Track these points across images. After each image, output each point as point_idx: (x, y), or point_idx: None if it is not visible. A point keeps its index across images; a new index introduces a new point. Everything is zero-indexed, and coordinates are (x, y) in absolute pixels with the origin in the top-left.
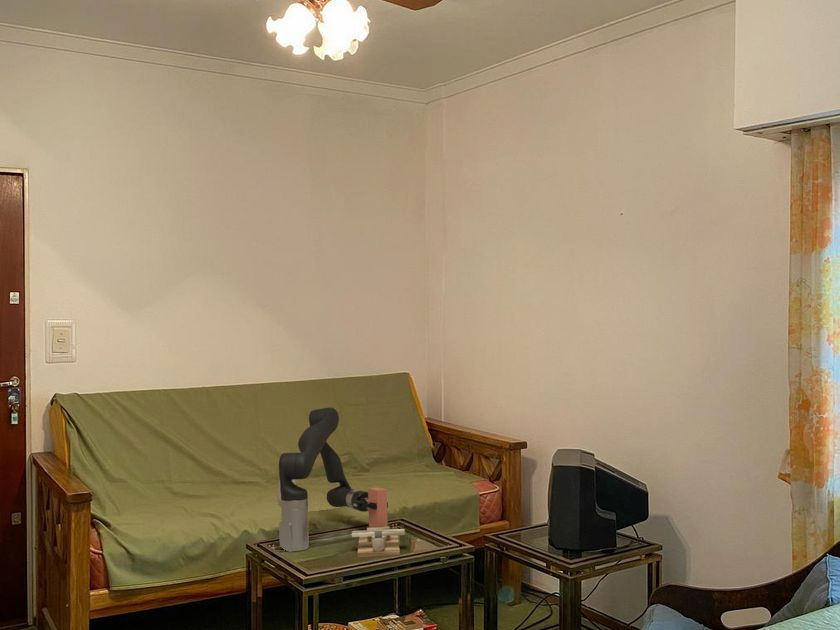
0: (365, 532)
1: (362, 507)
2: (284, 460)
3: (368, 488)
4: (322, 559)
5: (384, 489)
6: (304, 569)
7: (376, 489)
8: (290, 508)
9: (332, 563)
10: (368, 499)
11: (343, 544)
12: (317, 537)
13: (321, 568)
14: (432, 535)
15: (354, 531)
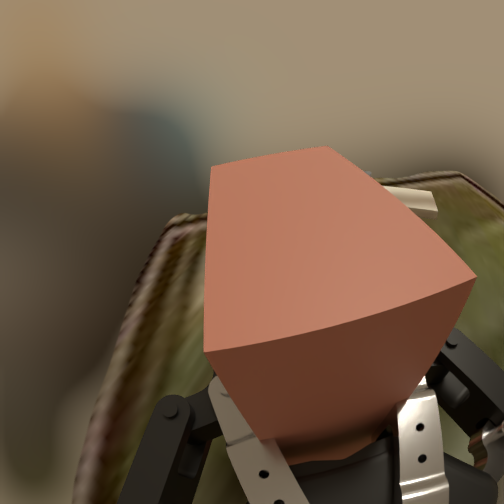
0: (396, 193)
1: (447, 385)
2: None
3: (466, 265)
4: (470, 216)
5: (233, 165)
6: (475, 189)
7: (323, 174)
8: None
9: (444, 196)
10: (409, 390)
11: (463, 312)
12: None
13: (453, 186)
14: (137, 321)
15: (430, 206)
